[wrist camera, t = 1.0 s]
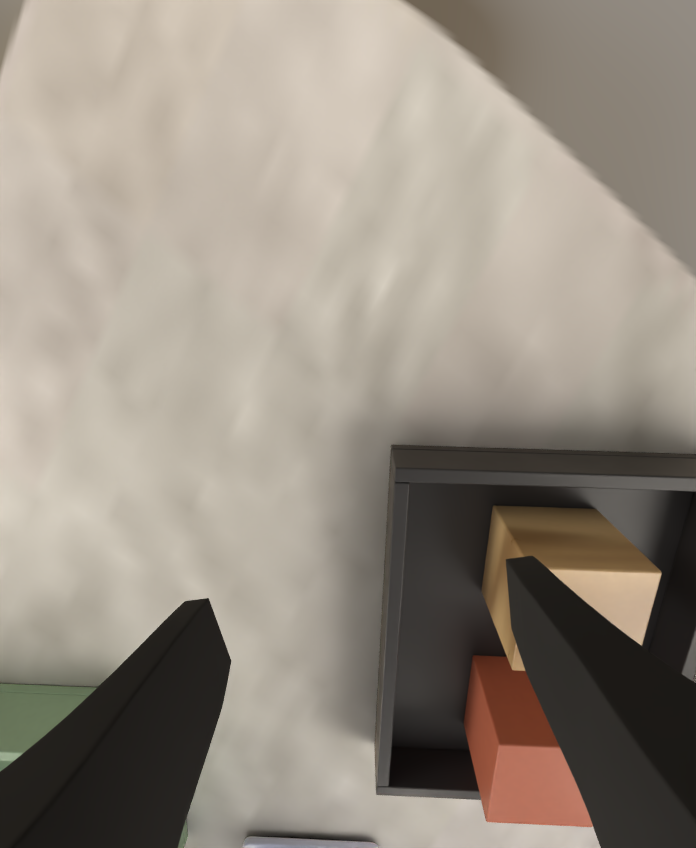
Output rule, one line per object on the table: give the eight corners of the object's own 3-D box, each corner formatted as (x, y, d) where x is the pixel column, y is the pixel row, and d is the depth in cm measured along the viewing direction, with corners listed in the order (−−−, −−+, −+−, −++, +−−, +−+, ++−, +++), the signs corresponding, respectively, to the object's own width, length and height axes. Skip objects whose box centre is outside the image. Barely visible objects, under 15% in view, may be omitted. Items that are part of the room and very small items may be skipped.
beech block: (578, 595, 20) (634, 676, 16) (480, 591, 20) (511, 671, 16) (596, 507, 19) (663, 571, 15) (492, 504, 19) (529, 567, 15)
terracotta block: (550, 727, 23) (593, 828, 18) (463, 723, 23) (486, 822, 19) (564, 658, 21) (614, 750, 17) (472, 654, 21) (499, 744, 17)
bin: (188, 835, 27) (163, 914, 23) (-29, 824, 27) (-84, 900, 24) (169, 690, 23) (137, 757, 20) (-78, 679, 24) (-151, 744, 20)
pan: (622, 755, 24) (651, 808, 21) (374, 744, 24) (376, 795, 22) (708, 454, 19) (759, 479, 16) (390, 444, 19) (395, 467, 16)
